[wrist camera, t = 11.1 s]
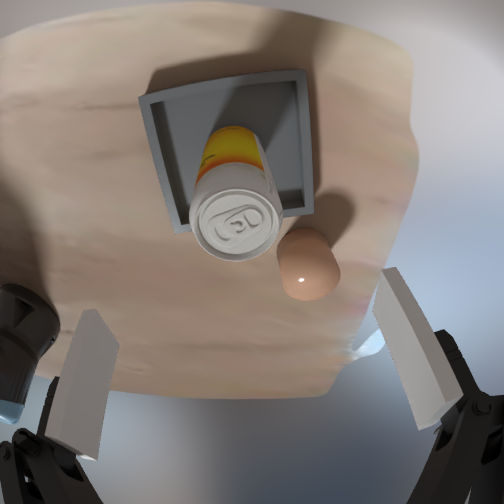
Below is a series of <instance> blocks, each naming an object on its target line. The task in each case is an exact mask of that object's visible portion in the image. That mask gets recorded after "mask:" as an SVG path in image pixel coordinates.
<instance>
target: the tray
mask: <svg viewBox="0 0 504 504" xmlns="http://www.w3.org/2000/svg"><path fill="white" fill-rule="evenodd" d="M138 99H139V104H140V108H141V112H142V117H143V121H144V125H145V129H146V133H147V137H148V141H149V145H150V149H151V152H152V156H153V160H154V164H155V167H156V171H157V175H158V178H159V182H160V185H161V189H162V192H163V196H164V199H165V202H166V206H167V209H168V212H169V216H170V219H171V222H172V226H173V229H174V232H175V234H177V233H183V232H190V231H192V229H191V226H190V222H189V210H190V205H191V201H192V197H193V192H194V188H195V184H196V180H197V176H198V172H199V168H200V164H201V160H202V156H203V152H204V148H205V145H206V142H207V140H208V139H209V137H210V136H211V135H212V134H213V133H214V132H216V131H217V130H219V129H221V128H224V127H227V126H241V127H244V128H247V129H249V130H251V131H252V132H253V133H254V134H255V135H256V136H257V137H258V138H259V140H260V142H261V144H262V147H263V150H264V153H265V156H266V159H267V162H268V165H269V168H270V171H271V174H272V177H273V180H274V183H275V186H276V189H277V192H278V195H279V198H280V201H281V205H282V209H283V218H285V217H292V216H300V215H308V214H314V194H313V166H312V146H311V129H310V114H309V101H308V89H307V78H306V70H303V69H291V70H278V71H267V72H257V73H249V74H241V75H234V76H227V77H221V78H215V79H209V80H203V81H198V82H193V83H188V84H184V85H179V86H175V87H170V88H166V89H162V90H158V91H154V92H150V93H147V94H144V95H142V96H140V97H138Z"/></svg>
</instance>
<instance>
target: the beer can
mask: <svg viewBox="0 0 504 504" xmlns="http://www.w3.org/2000/svg"><path fill="white" fill-rule="evenodd" d="M282 221H283V209H282V205H281V201H280V198H279V195H278V192H277V189H276V186H275V183H274V180H273V177H272V174H271V171H270V168H269V165H268V162H267V159H266V156H265V153H264V150H263V147H262V144H261V142H260V140H259V138H258V137H257V136H256V135H255V134H254V133H253V132H252V131H251V130H249V129H247V128H244V127H241V126H227V127H224V128H221V129H219V130H217V131H216V132H214V133H213V134H212V135H211V136H210V137H209V139H208V140H207V142H206V145H205V148H204V152H203V156H202V160H201V164H200V168H199V172H198V176H197V180H196V184H195V188H194V192H193V197H192V201H191V205H190V210H189V222H190V226H191V229H192V231H193V233H194V235H195V236H196V239H197V241H198V242H199V244H200V245H201V246H202V248H203V249H204V250H206V251H207V252H208V253H209V254H211V255H213V256H215V257H217V258H219V259H223V260H227V261H244V260H249V259H252V258H255V257H257V256H259V255H261V254H262V253H264V252H265V251H266V250H267V249H269V248H270V246H271V245H272V244H273V243H274V241H275V239H276V237H277V235H278V232H279V230H280V228H281V225H282Z"/></svg>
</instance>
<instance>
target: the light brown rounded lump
mask: <svg viewBox="0 0 504 504" xmlns="http://www.w3.org/2000/svg"><path fill="white" fill-rule="evenodd" d="M277 258H278V263H279V267H280V272H281V277H282V282H283V286H284V289H285V291H286V293H287V294H288V295H289V296H291V297H292V298H294V299H297V300H302V301H310V300H315V299H319V298H321V297H323V296H325V295H327V294H329V293H330V292H331V291H332V290H333V289H334V288H335V287H336V286H337V284H338V282H339V280H340V269H339V266H338V264H337V262H336V260H335V257H334V255H333V253H332V251H331V248H330V246H329V244H328V242H327V240H326V238H325V236H324V235H323V234H322V233H321V232H319V231H318V230H315V229H312V228H300V229H296V230H293V231H291V232H289V233H288V234H286V235H285V236H284V237H283V238H282V239H281V241H280V242H279V244H278V247H277Z"/></svg>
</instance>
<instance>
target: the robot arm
mask: <svg viewBox="0 0 504 504" xmlns="http://www.w3.org/2000/svg"><path fill="white" fill-rule="evenodd" d="M372 312H373V314H374V316H375V318H376V320H377V323H378V325H379V328H380V330H381V332H382V335H383V337H384V339H385V342H386V344H387V346H388V349H389V351H390V354H391V356H392V359H393V361H394V364H395V366H396V369H397V371H398V374H399V376H400V379H401V382H402V384H403V387H404V390H405V393H406V395H407V398H408V401H409V403H410V406H411V409H412V412H413V415H414V418H415V421H416V424H417V427H418V430H421V429H424V428H426V427H429V426H431V425H433V424H435V423H436V422H437V421H438V420H439V419H440V420H441V423H442V425H440V426H439V427H438V428H437V429H436V431H435V432H434V434H437V433H438V432H439V433H438V435H437V438H436V441H435V443H434V446H433V448H432V451H431V453H430V455H429V458H428V460H427V462H426V465H425V467H424V469H423V472H422V474H421V476H420V478H419V480H418V482H417V484H416V486H415V488H414V490H413V492H412V494H411V496H410V498H409V500H408V502H407V503H406V504H464V503H465V501H466V499H467V496H468V494H469V491H470V489H471V493H470V498H469V502H468V504H504V395H498V396H489V395H488V394H486V393H485V392H482V391H480V389H479V388H478V386H477V384H476V382H475V380H474V378H473V376H472V374H471V372H470V370H469V367H468V366H467V363H466V361H465V359H464V358H463V357H462V354H461V352H460V350H459V349H458V346H457V344H456V342H455V340H454V338H453V337H452V336H451V335H450V334H449V333H448V332H446V331H445V330H444V329H443V330H440V331H437V332H433V330H432V329H431V327H430V325H429V323H428V321H427V319H426V317H425V316H424V314H423V312H422V310H421V308H420V307H419V305H418V303H417V301H416V300H415V298H414V296H413V294H412V293H411V291H410V289H409V288H408V286H407V284H406V283H405V281H404V279H403V278H402V276H401V274H400V273H399V271H398V270H397V268H396V267H393V268H388V269H382V270H381V272H380V278H379V283H378V288H377V292H376V297H375V302H374V306H373V310H372ZM59 332H60V324H59V321H58V318H57V316H56V315H55V313H54V312H53V310H52V309H51V308H50V307H49V306H48V305H47V304H46V303H45V302H44V301H43V300H42V299H41V298H40V297H38V296H37V295H36V294H34V293H33V292H31V291H29V290H28V289H26V288H23V287H21V286H18V285H13V284H7V285H4V286H2V287H1V288H0V422H2V423H5V424H9V425H13V424H16V423H17V422H18V421H19V419H20V416H21V414H22V411H23V408H24V407H25V401H26V398H27V395H28V391H29V388H30V385H31V382H32V379H33V376H34V373H35V370H36V367H37V364H38V362H39V360H40V358H41V357H42V356H43V355H44V354H45V353H46V352H47V350H48V349H49V348H50V347H51V346H52V345H53V344H54V343H55V341H56V339H57V337H58V334H59ZM119 345H120V344H119V342H118V341H117V340H116V338H115V337H114V335H113V334H112V332H111V331H110V330H109V328H108V327H107V325H106V324H105V322H104V321H103V319H102V318H101V316H100V315H99V313H98V312H97V310H96V309H91V310H83V313H82V315H81V318H80V320H79V323H78V326H77V328H76V331H75V334H74V336H73V339H72V342H71V345H70V348H69V351H68V353H67V356H66V359H65V362H64V366H63V369H62V372H61V375H60V377H56V376H55V378H54V379H53V381H52V383H51V384H50V386H49V389H48V392H47V397H46V399H45V405H44V406H43V411H42V414H41V418H40V422H39V426H38V431H37V434H36V435H35V434H33V433H32V432H30V431H29V430H27V429H26V428H20V429H18V430H17V431H16V432H15V433H14V435H13V437H12V444H11V443H10V442H8V441H3V442H1V443H0V481H1V487H2V493H3V498H4V503H5V504H103V502H102V501H101V499H100V498H99V496H98V494H97V493H96V491H95V489H94V488H93V486H92V484H91V483H90V481H89V479H88V477H87V476H86V474H85V472H84V470H83V468H82V467H81V465H80V463H79V462H78V460H77V459H76V454H77V455H78V456H80V457H82V458H84V459H89V460H95V461H97V460H98V452H99V445H100V439H101V432H102V425H103V420H104V414H105V409H106V404H107V398H108V393H109V388H110V384H111V379H112V374H113V370H114V365H115V361H116V357H117V353H118V349H119ZM25 476H26V477H28V482H26V481H25ZM471 486H472V487H471Z"/></svg>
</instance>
